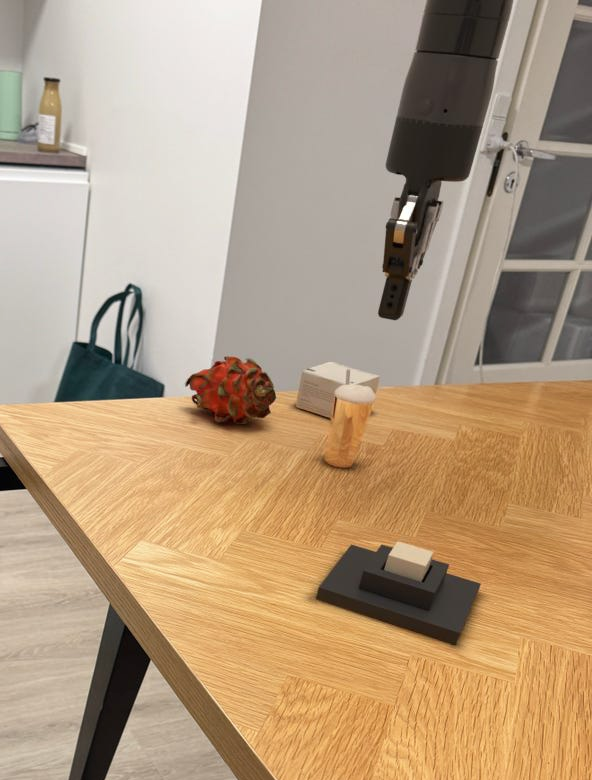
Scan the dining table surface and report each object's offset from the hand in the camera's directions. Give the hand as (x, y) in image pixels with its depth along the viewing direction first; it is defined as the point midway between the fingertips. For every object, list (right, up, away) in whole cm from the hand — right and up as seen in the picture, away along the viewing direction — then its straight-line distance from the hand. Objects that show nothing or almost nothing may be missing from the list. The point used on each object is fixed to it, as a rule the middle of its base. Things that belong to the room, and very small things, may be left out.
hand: (389, 317), depth 88 cm
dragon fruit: (-13, -4, +25) cm, 29 cm away
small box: (+2, -1, +32) cm, 32 cm away
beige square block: (-2, -26, -11) cm, 29 cm away
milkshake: (-1, -11, +16) cm, 20 cm away
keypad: (-2, -28, -10) cm, 30 cm away
